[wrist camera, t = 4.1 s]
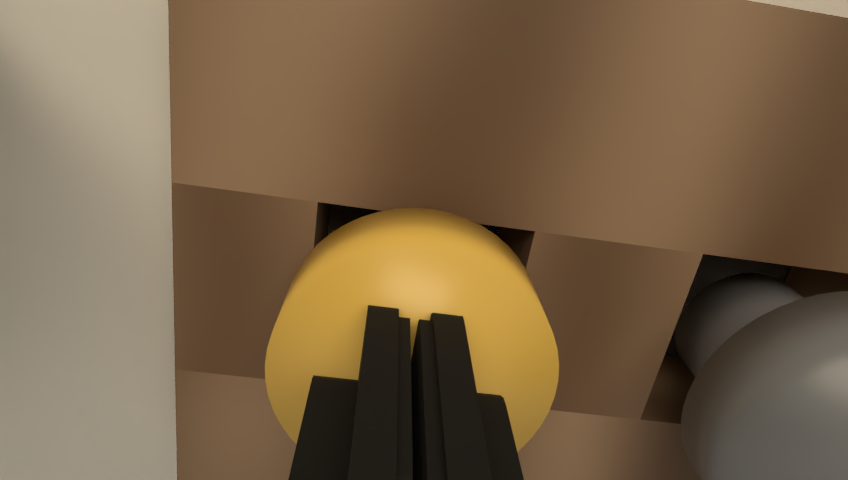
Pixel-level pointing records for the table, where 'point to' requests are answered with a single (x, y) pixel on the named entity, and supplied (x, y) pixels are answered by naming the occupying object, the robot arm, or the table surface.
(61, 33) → the table surface
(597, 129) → the console
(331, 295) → the button amber
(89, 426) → the table surface
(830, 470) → the grey rounded lump
